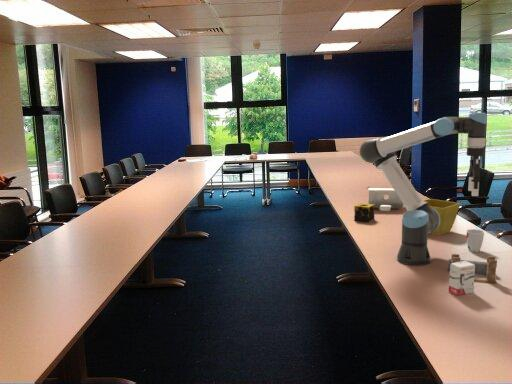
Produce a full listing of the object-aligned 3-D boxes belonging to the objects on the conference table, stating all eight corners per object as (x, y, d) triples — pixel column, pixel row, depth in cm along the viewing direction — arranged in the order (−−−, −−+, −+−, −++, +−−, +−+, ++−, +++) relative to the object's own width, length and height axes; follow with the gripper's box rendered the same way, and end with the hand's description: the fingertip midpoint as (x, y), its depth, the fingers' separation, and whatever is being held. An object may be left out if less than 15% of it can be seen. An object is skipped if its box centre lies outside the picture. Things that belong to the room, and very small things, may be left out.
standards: (450, 280, 212) (451, 257, 211) (449, 276, 217) (450, 253, 216) (496, 284, 207) (498, 260, 205) (494, 279, 212) (496, 257, 211)
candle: (374, 219, 323) (375, 204, 321) (369, 222, 315) (369, 207, 313) (359, 217, 329) (360, 202, 327) (353, 220, 320) (354, 205, 318)
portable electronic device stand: (366, 211, 348) (367, 189, 345) (364, 204, 371) (365, 183, 368) (404, 211, 344) (405, 189, 342) (400, 204, 367) (401, 184, 365)
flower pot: (441, 237, 279) (443, 207, 276) (411, 231, 293) (412, 203, 290) (458, 231, 291) (460, 203, 288) (428, 225, 305) (430, 198, 302)
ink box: (457, 296, 195) (459, 267, 193) (448, 292, 200) (449, 263, 197) (473, 292, 198) (475, 264, 196) (464, 288, 203) (466, 260, 201)
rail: (448, 271, 224) (448, 260, 223) (448, 269, 227) (448, 258, 226) (492, 276, 217) (493, 265, 217) (492, 273, 220) (492, 263, 219)
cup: (468, 247, 259) (469, 228, 258) (484, 250, 254) (486, 230, 253) (463, 251, 253) (464, 231, 251) (480, 253, 248) (481, 234, 246)
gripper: (489, 149, 214) (485, 198, 218) (481, 144, 238) (478, 189, 241) (470, 149, 216) (467, 197, 220) (464, 144, 240) (461, 188, 243)
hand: (473, 193), depth 231 cm, fingers open, 13 cm apart
